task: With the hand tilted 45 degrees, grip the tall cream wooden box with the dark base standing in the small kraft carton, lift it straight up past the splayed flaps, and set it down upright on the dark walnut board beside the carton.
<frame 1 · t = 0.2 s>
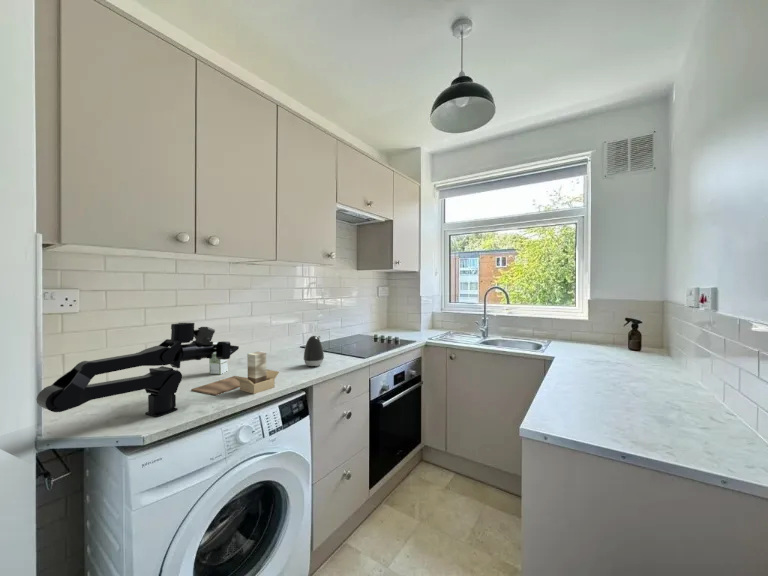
hand: (230, 347, 124), 17 cm above the table, tool horizontal, fingers open, 9 cm apart
syrup box: (218, 373, 149), on the table
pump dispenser: (314, 366, 161), on the table
walnut board: (226, 385, 129), on the table
carton: (257, 388, 125), on the table
tall box: (257, 388, 125), resting in carton
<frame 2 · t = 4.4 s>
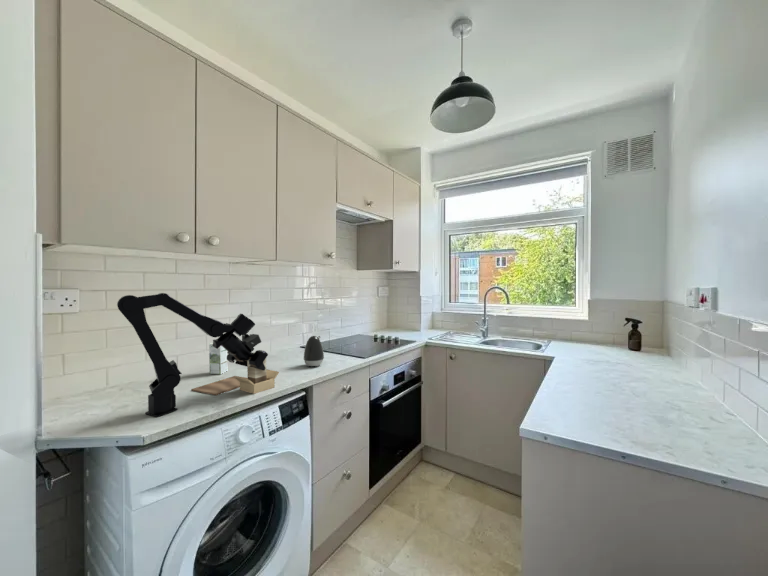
hand: (260, 368, 126), 8 cm above the table, tool tilted 45°, fingers closed on tall box, 5 cm apart
tall box: (257, 388, 125), resting in carton, touching gripper
everything else where it was.
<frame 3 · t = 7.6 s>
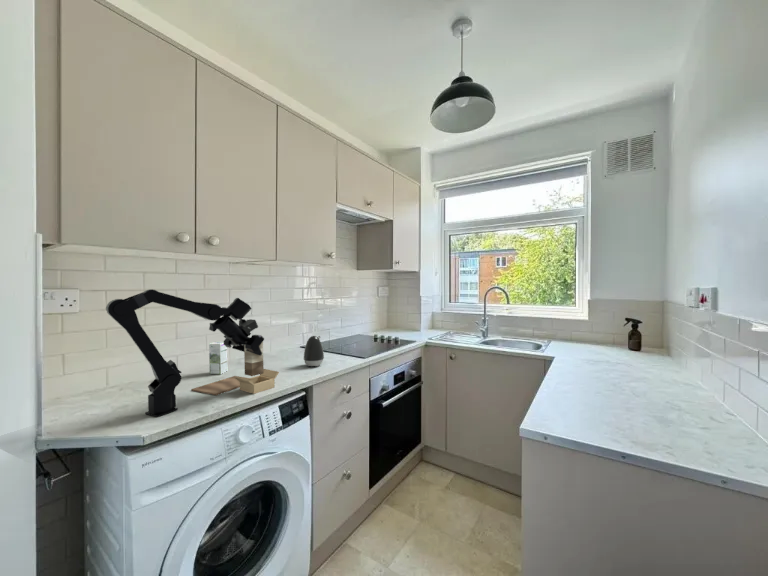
hand: (256, 353, 127), 13 cm above the table, tool tilted 45°, fingers closed on tall box, 5 cm apart
tall box: (254, 373, 125), point 6 cm above the table, touching gripper
everything else where it was.
when the fingers open (10 cm above the table, at t = 10.7 s): tall box drops 1 cm, resting on walnut board.
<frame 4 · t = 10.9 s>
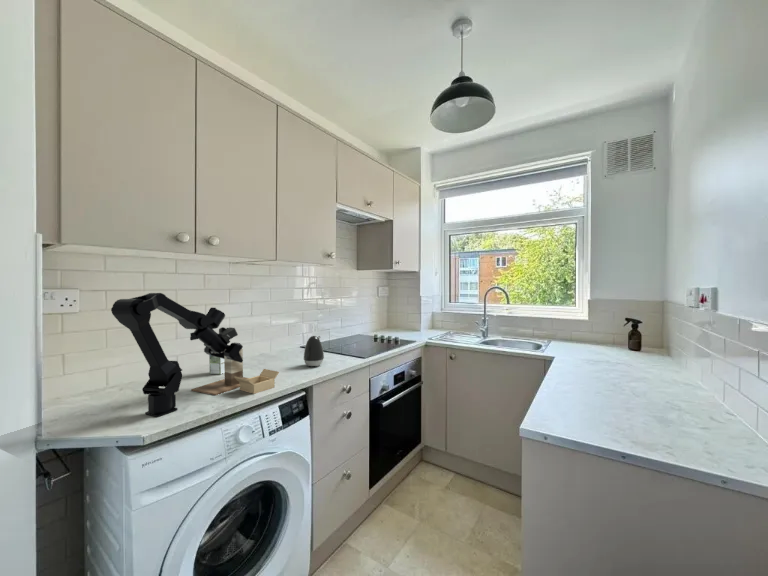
hand: (236, 360, 131), 10 cm above the table, tool tilted 45°, fingers open, 7 cm apart
tall box: (233, 383, 130), point 1 cm above the table, touching walnut board
everything else where it was.
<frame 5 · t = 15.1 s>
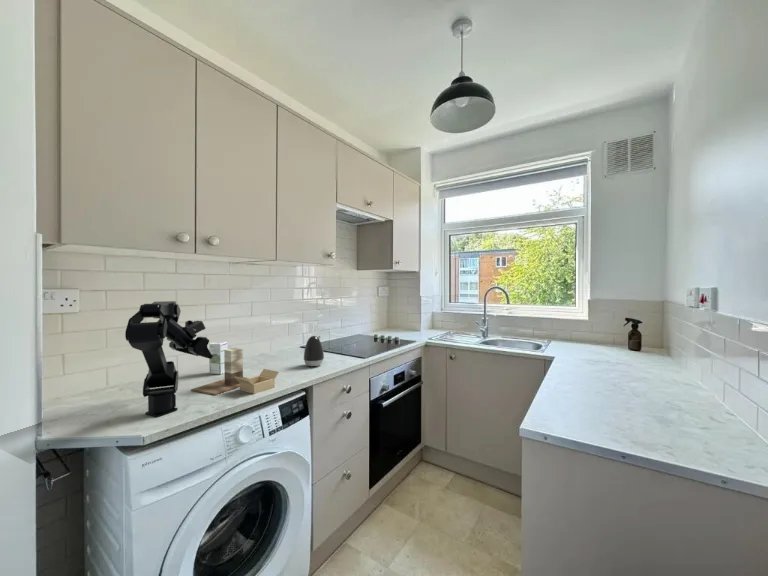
hand: (205, 356, 122), 14 cm above the table, tool tilted 45°, fingers open, 9 cm apart
nothing on the table moved.
at the end: tall box inside the target area (1.5 cm from its centre), point 0.6 cm above the table; tall box tilted 0°; the gripper is holding nothing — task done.
